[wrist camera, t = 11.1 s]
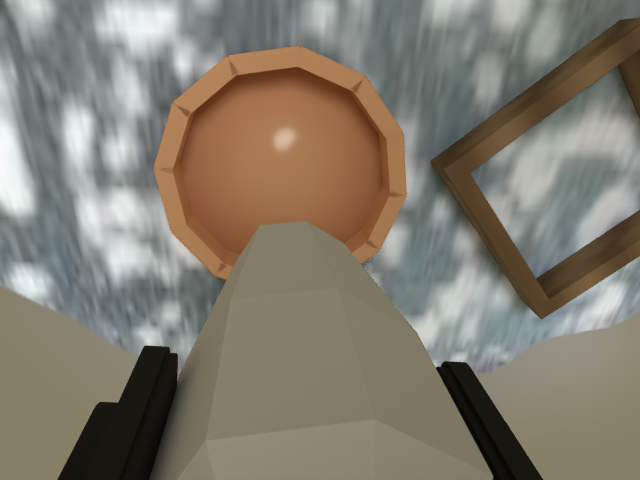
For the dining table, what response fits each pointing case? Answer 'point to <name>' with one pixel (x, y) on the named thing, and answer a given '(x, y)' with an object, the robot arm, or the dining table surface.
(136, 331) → the dining table surface
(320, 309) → the faceted bottle
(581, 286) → the square wooden frame
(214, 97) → the terracotta dish
